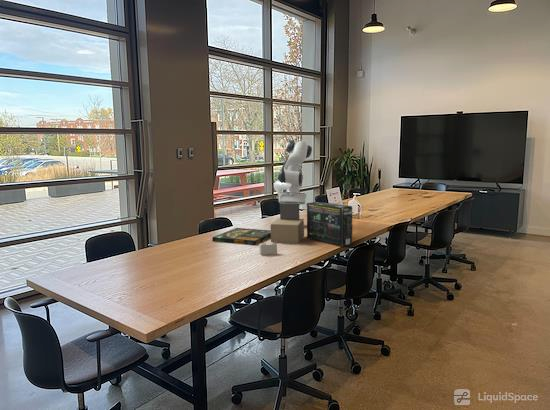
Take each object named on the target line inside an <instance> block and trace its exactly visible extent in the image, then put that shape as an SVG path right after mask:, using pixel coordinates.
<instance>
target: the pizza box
mask: <svg viewBox="0 0 550 410" xmlns="http://www.w3.org/2000/svg"><path fill="white" fill-rule="evenodd" d="M211 238H212V242H215V243H216V242H217V243H227V244H236V245H237V244H238V245H247V246H256V245H258V243H259V244H260V242H261V243H263V242H264V241H267V240H268V239H271V229H270V230H269V229H267V230H266V229H258V228H257V229H256V228H245V227H244V228H242V227H235V228H232V229H230V230H228V231H225V232H222V233H220V234H216V235H215V236H212V237H211Z"/></svg>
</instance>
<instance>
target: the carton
mask: <svg viewBox="0 0 550 410" xmlns="http://www.w3.org/2000/svg"><path fill="white" fill-rule="evenodd" d="M270 230H271V237H270V243H275V242H277V243H281V244H282V243H283V244H287V243H288V244H299V243H300V242H301V241H302V240H303V239H304V237H305V221H303V222H302V223H301V224H300V225H299V226H272V225H271V224H270Z"/></svg>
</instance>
